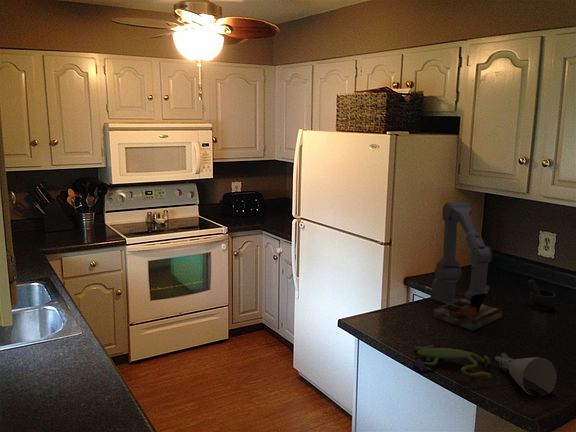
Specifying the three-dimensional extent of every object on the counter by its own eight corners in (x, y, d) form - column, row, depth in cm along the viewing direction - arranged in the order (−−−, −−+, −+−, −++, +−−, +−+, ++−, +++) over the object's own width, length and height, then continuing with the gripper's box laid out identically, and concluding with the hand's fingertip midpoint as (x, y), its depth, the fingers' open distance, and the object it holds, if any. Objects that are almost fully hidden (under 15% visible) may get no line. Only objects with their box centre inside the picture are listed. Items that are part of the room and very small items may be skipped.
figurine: (486, 393, 153) (488, 376, 152) (400, 367, 167) (401, 351, 166) (499, 368, 168) (501, 352, 167) (419, 346, 182) (420, 331, 181)
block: (458, 318, 200) (459, 307, 199) (465, 315, 203) (466, 304, 202) (469, 322, 196) (470, 310, 196) (475, 319, 199) (476, 308, 198)
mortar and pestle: (554, 307, 222) (557, 280, 220) (553, 314, 214) (557, 286, 212) (525, 302, 227) (528, 275, 225) (523, 308, 219) (527, 281, 217)
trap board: (431, 316, 208) (432, 305, 207) (461, 304, 223) (462, 293, 222) (473, 331, 195) (474, 319, 194) (501, 317, 209) (502, 305, 208)
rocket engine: (498, 336, 169) (536, 350, 151) (522, 357, 171) (563, 373, 153) (478, 366, 167) (515, 382, 149) (503, 386, 169) (542, 405, 151)
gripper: (478, 285, 193) (475, 319, 196) (497, 277, 202) (494, 310, 205) (461, 280, 198) (458, 313, 201) (480, 272, 207) (477, 305, 210)
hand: (475, 311), depth 203 cm, fingers closed
